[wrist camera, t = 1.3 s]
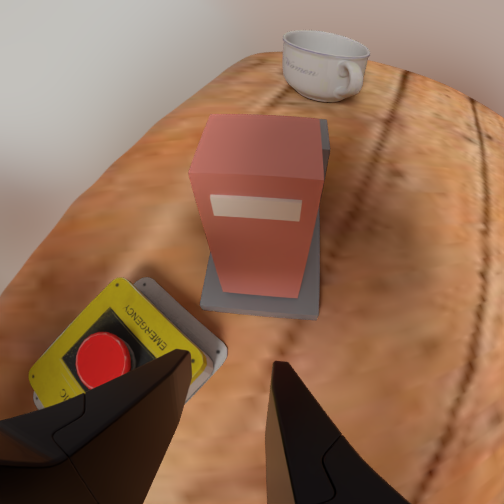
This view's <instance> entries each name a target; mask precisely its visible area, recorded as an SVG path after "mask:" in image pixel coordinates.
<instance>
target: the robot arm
mask: <svg viewBox="0 0 504 504" xmlns="http://www.w3.org/2000/svg"><path fill="white" fill-rule="evenodd" d="M191 379H192V365H191V353H190V352H189V351H188V350H182V349H174V350H172V351H170V352H168V353H166V354H164V355H162V356H160V357H158V358H156V359H154V360H152V361H150V362H148V363H146V364H144V365H142V366H140V367H138V368H136V369H134V370H132V371H129V372H127V373H125V374H123V375H121V376H119V377H117V378H115V379H113V380H110V381H108V382H106V383H104V384H102V385H100V386H97V387H95V388H93V389H91V390H89V391H86V392H85V393H82V394H79V395H77V396H75V397H73V398H70V399H68V400H65V401H63V402H60V403H58V404H55V405H52V406H49V407H46V408H43V409H40V410H37V411H33V412H30V413H27V414H23V415H20V416H16V417H13V418H9V419H5V420H1V421H0V504H143V502H144V500H145V498H146V496H147V493H148V491H149V489H150V487H151V485H152V482H153V480H154V478H155V476H156V473H157V471H158V469H159V467H160V464H161V462H162V460H163V458H164V455H165V453H166V451H167V449H168V446H169V444H170V442H171V440H172V438H173V435H174V433H175V431H176V429H177V426H178V424H179V421H180V418H181V414H182V411H183V407H184V404H185V400H186V397H187V394H188V390H189V387H190V383H191ZM265 451H266V483H267V504H411V503H410V502H408V501H407V500H406V499H405V498H404V497H403V496H401V495H400V494H399V493H398V492H397V491H396V490H395V489H394V488H393V487H391V486H390V485H389V484H388V483H387V482H386V481H385V480H384V479H383V478H382V477H380V476H379V475H378V474H377V473H376V472H375V471H374V470H373V469H372V468H371V467H370V466H369V465H368V464H367V463H366V462H365V461H364V460H363V459H362V458H361V457H360V455H359V454H358V453H357V452H356V451H355V450H354V448H353V447H352V446H351V445H350V444H349V442H348V441H347V440H346V438H345V437H344V436H343V435H342V433H341V432H340V431H339V429H338V428H337V427H336V425H335V424H334V423H333V422H332V420H331V419H330V418H329V416H328V415H327V414H326V412H325V411H324V410H323V408H322V407H321V406H320V404H319V403H318V402H317V400H316V399H315V398H314V396H313V395H312V394H311V392H310V391H309V390H308V388H307V387H306V386H305V384H304V383H303V381H302V380H301V379H300V377H299V376H298V375H297V373H296V372H295V371H294V369H293V368H292V366H291V365H290V364H289V363H288V362H283V361H274V362H273V367H272V376H271V385H270V394H269V403H268V412H267V421H266V431H265Z"/></svg>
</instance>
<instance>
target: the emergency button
mask: <svg viewBox="0 0 504 504" xmlns="http://www.w3.org/2000/svg"><path fill="white" fill-rule="evenodd" d="M174 349H182V350H188V351H189V352H190V353H191V365H192V379H191V383H190V387H189V390H188V394H187V397H186V400H185V404H186V403H187V402H188V401H189V400H190V399H191V397H192V396H193V395H194V394H195V393H196V392H197V391H198V390H199V389H200V388H201V387H202V386H203V385H204V384H205V383H206V382H207V381H208V380H209V379H210V377H211V376H212V375H213V374H214V373H215V372H216V371H217V370H218V369H219V368H220V367H221V366H222V365H223V363H224V362H225V360H226V358H227V347H226V346H225V344H224V343H223V342H222V341H221V340H220V339H219V338H217V337H216V336H215V335H214V334H213V333H212V332H210V331H209V330H208V329H207V328H206V327H205V326H204V325H202V324H201V323H200V322H199V321H198V320H197V319H196V318H195V317H193V316H192V315H191V314H190V313H189V312H188V311H187V310H186V309H185V308H183V307H182V306H181V305H180V304H179V303H178V302H177V301H176V300H175V299H174V298H173V297H172V296H170V295H169V294H168V293H167V292H166V291H165V290H164V289H163V288H162V287H161V286H160V285H159V284H158V283H157V282H156V281H155V280H154V279H152V278H149V277H145V278H141V279H140V280H138V281H136V282H135V283H134V284H132V283H131V282H130V281H128V280H127V279H125V278H123V277H120V278H116V279H114V280H113V281H112V282H111V283H110V284H109V285H108V286H107V287H106V288H105V289H104V290H103V291H102V292H101V293H100V294H99V295H98V296H97V297H96V298H95V299H94V300H93V301H92V302H91V303H90V304H89V305H88V306H87V307H86V308H85V309H84V310H83V311H82V312H81V313H80V314H79V315H78V316H77V317H76V318H75V319H74V321H73V322H72V323H71V324H70V325H69V326H68V327H67V328H66V329H65V330H64V331H63V332H62V333H61V335H60V336H59V337H58V338H57V339H56V340H55V341H54V342H53V343H52V345H51V346H50V347H49V348H48V349H47V350H46V351H45V352H44V354H43V355H42V356H41V357H40V358H39V359H38V360H37V362H36V363H35V364H34V365H33V366H32V367H31V369H30V371H29V381H30V384H31V386H32V388H33V389H34V394H33V400H34V403H35V405H36V407H37V408H38V410H40V409H43V408H46V407H49V406H52V405H55V404H58V403H60V402H63V401H65V400H68V399H70V398H73V397H75V396H77V395H79V394H82V393H85V392H86V391H89V390H91V389H93V388H95V387H97V386H100V385H102V384H104V383H106V382H108V381H110V380H113V379H115V378H117V377H119V376H121V375H123V374H125V373H127V372H129V371H132V370H134V369H136V368H138V367H140V366H142V365H144V364H146V363H148V362H150V361H152V360H154V359H156V358H158V357H160V356H162V355H164V354H166V353H168V352H170V351H172V350H174ZM185 404H184V405H185Z"/></svg>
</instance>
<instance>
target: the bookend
mask: <svg viewBox="0 0 504 504" xmlns="http://www.w3.org/2000/svg"><path fill="white" fill-rule="evenodd" d="M320 130H321V142H322V155H323V170H324V180H325V175H326V170H327V164H328V159H329V154H330V143H329V134H328V126H327V120H325V119H320ZM323 185H324V183H323ZM322 190H323V188H322ZM321 195H322V193H321ZM320 200H321V198H320ZM319 205H320V203H319ZM319 284H320V218H319V208H318V213H317V217H316V222H315V227H314V231H313V236H312V240H311V245H310V249H309V253H308V258H307V262H306V266H305V270H304V275H303V279H302V283H301V287H300V291H299V295H298V298H285V297H273V296H261V295H250V294H239V293H229V292H223V290H222V287H221V284H220V281H219V277H218V274H217V271H216V268H215V264H214V261H213V258H212V255H211V251H210V256H209V261H208V266H207V271H206V276H205V281H204V285H203V291H202V296H201V301H200V306H201V308H202V310H208V311H216V312H225V313H235V314H245V315H255V316H266V317H278V318H291V319H305V320H317V318H318V316H319Z"/></svg>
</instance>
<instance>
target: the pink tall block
mask: <svg viewBox="0 0 504 504" xmlns="http://www.w3.org/2000/svg"><path fill="white" fill-rule="evenodd" d="M188 174H189V178H190V182H191V185H192V189H193V192H194V196H195V200H196V203H197V207H198V210H199V214H200V217H201V221H202V224H203V228H204V231H205V234H206V238H207V241H208V245H209V248H210V251H211V255H212V258H213V261H214V264H215V268H216V271H217V274H218V277H219V281H220V284H221V287H222V290H223V292H229V293H239V294H250V295H261V296H273V297H285V298H298V295H299V291H300V287H301V283H302V279H303V275H304V270H305V266H306V262H307V258H308V253H309V249H310V245H311V240H312V236H313V231H314V227H315V222H316V217H317V213H318V208H319V203H320V198H321V193H322V188H323V183H324V170H323V155H322V142H321V130H320V119H316V118H305V117H292V116H276V115H251V114H210V116H209V119H208V121H207V124H206V126H205V129H204V131H203V134H202V137H201V139H200V142H199V145H198V147H197V150H196V153H195V155H194V158H193V161H192V163H191V166H190V169H189V172H188Z"/></svg>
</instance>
